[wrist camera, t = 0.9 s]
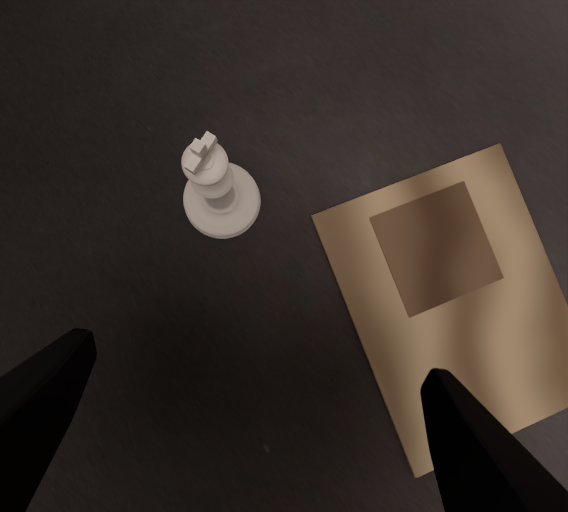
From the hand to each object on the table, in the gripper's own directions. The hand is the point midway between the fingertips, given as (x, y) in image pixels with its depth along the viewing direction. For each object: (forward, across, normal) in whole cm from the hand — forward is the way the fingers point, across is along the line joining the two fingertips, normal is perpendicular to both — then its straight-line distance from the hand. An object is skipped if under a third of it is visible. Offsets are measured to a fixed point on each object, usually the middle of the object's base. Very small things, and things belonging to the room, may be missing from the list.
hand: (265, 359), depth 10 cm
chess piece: (+15, +3, +3) cm, 16 cm away
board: (+12, -13, +7) cm, 19 cm away
